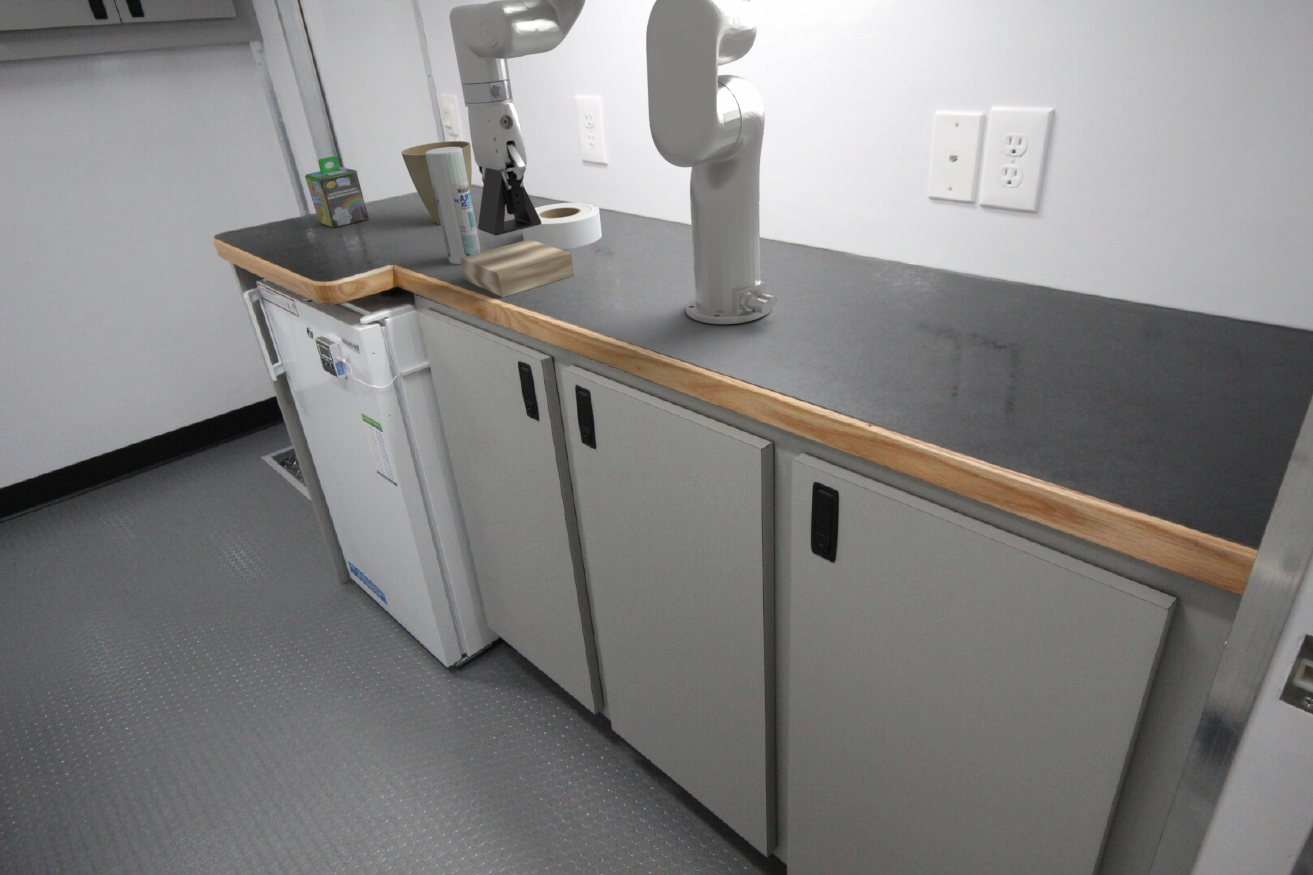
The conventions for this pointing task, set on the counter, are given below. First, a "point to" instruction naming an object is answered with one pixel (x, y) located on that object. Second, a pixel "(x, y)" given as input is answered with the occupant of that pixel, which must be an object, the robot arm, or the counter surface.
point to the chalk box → (336, 194)
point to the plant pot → (421, 174)
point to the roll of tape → (566, 225)
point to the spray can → (453, 202)
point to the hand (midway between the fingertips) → (506, 208)
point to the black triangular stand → (502, 207)
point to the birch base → (517, 267)
